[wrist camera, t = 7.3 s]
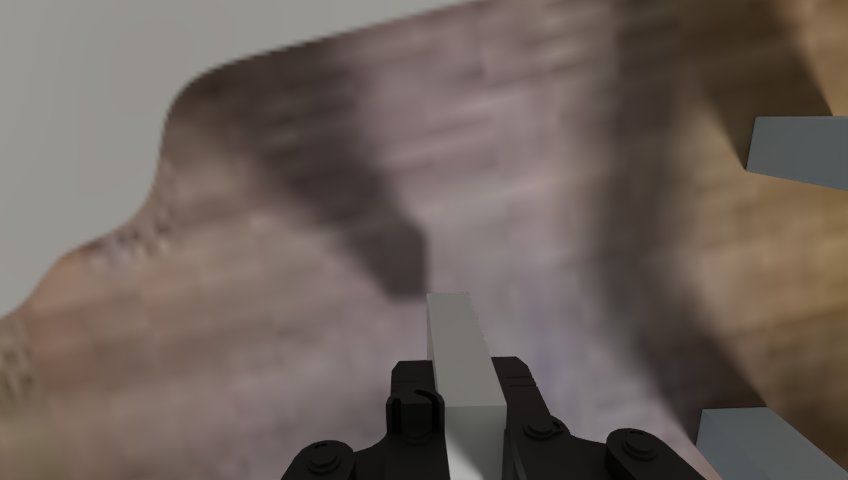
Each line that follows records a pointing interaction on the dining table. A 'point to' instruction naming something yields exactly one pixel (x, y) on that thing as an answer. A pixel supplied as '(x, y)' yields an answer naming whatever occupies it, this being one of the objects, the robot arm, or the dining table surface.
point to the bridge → (761, 427)
